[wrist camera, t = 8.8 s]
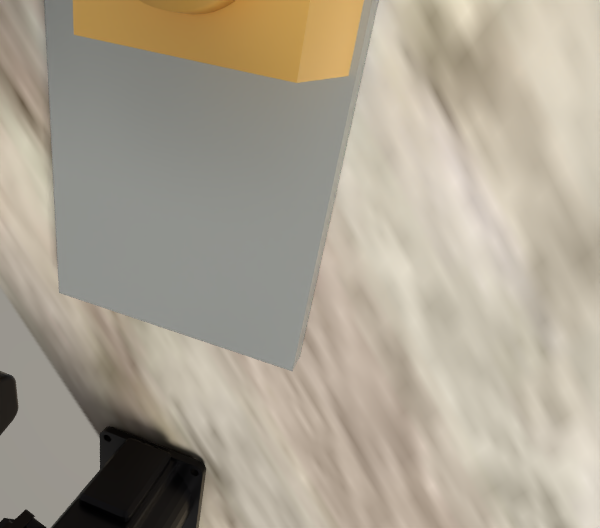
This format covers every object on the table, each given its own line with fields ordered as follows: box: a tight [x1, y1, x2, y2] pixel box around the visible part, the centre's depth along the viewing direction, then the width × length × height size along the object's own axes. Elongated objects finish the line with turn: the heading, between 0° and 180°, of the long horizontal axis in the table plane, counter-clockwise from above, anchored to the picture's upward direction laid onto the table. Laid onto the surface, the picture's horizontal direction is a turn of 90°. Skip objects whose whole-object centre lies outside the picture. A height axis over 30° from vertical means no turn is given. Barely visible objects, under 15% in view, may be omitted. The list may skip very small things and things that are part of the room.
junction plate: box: [44, 0, 379, 371], centre depth 17 cm, size 18×12×5 cm, turn 170°
